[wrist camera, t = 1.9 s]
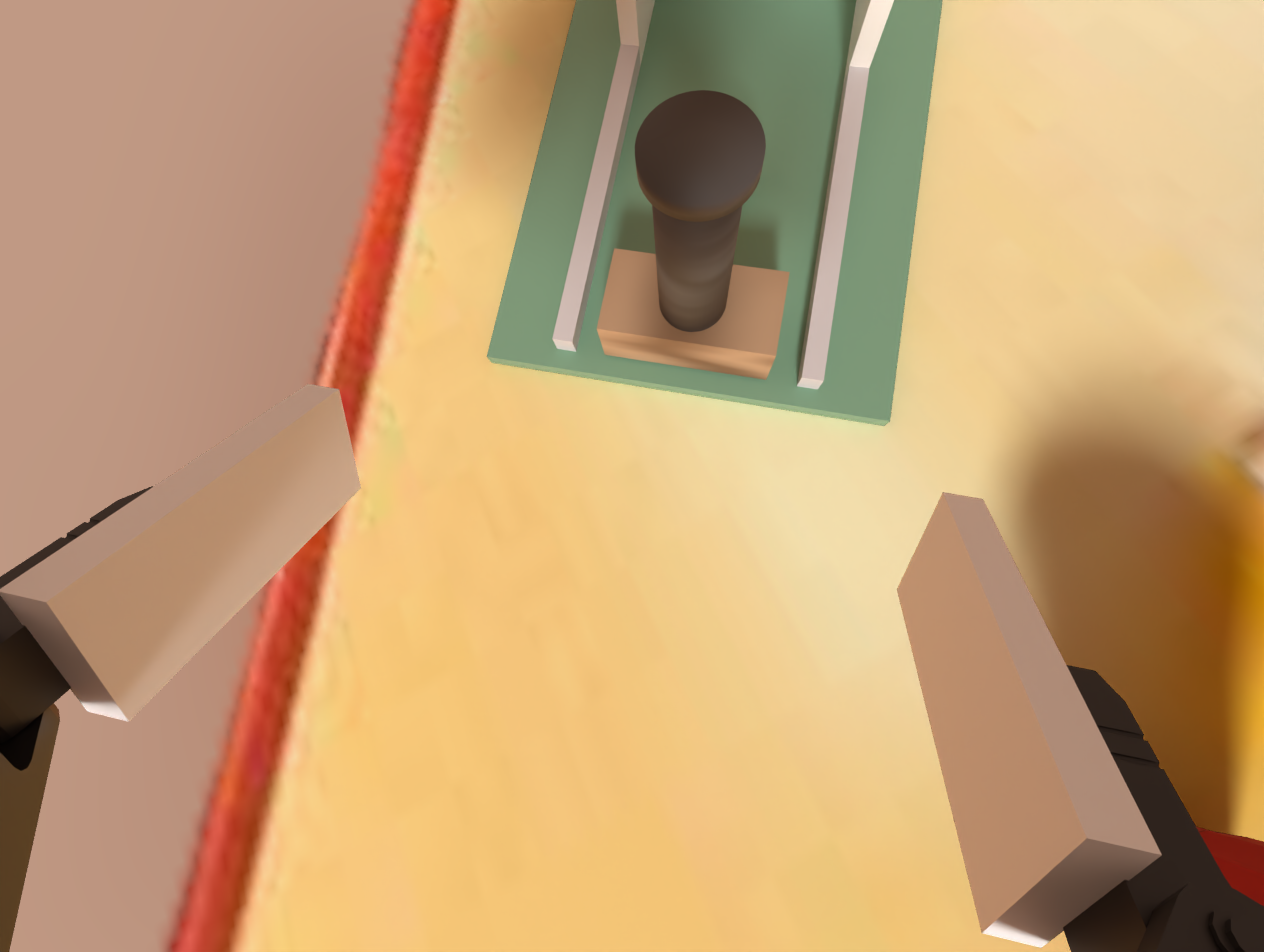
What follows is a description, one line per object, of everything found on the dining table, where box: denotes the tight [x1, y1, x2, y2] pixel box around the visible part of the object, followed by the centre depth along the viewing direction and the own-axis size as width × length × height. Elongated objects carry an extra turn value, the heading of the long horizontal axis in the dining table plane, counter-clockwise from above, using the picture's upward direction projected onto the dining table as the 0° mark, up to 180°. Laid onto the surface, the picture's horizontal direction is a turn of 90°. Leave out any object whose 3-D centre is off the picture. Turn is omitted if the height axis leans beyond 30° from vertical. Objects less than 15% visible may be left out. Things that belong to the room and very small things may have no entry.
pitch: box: [487, 0, 942, 426], centre depth 31 cm, size 20×26×2 cm
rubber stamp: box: [597, 90, 790, 380], centre depth 23 cm, size 8×4×12 cm, turn 79°
